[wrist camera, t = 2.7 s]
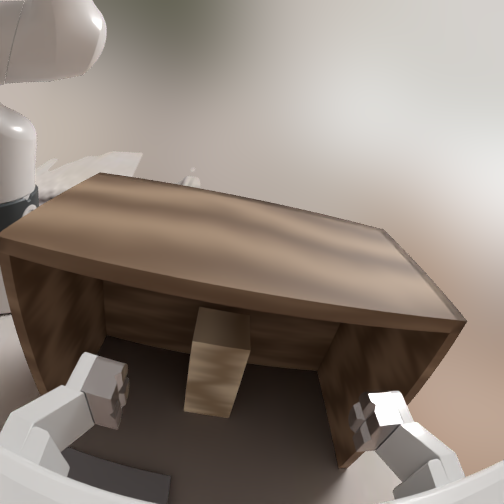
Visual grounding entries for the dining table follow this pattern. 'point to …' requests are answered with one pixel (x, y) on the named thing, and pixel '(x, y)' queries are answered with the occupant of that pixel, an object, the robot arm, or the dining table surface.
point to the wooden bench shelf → (223, 288)
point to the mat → (117, 477)
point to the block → (217, 361)
